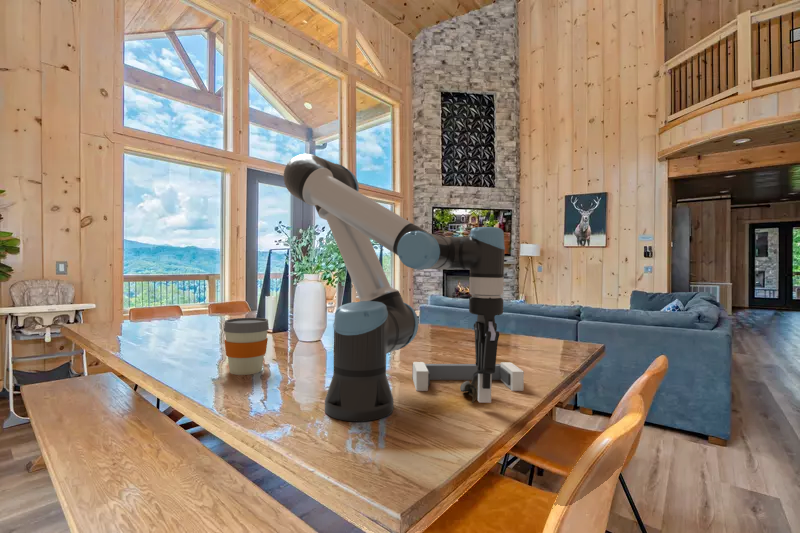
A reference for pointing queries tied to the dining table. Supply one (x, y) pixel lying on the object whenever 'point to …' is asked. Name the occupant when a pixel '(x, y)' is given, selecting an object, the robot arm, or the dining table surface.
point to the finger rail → (465, 374)
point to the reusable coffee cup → (245, 344)
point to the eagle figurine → (471, 387)
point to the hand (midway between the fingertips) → (484, 401)
